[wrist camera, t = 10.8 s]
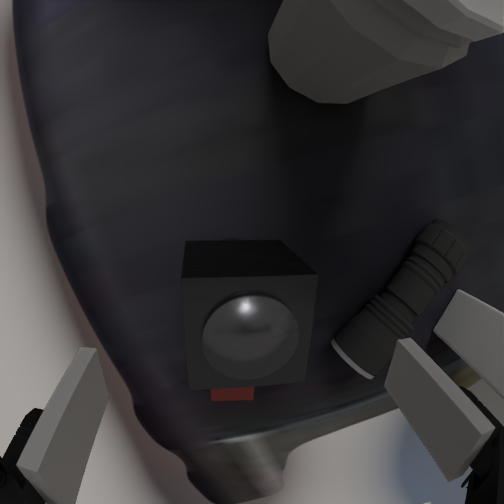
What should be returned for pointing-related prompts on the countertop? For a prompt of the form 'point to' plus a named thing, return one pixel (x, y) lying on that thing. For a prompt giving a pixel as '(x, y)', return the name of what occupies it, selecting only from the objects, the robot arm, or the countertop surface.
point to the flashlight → (402, 299)
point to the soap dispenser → (475, 337)
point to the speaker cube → (246, 313)
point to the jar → (373, 42)
